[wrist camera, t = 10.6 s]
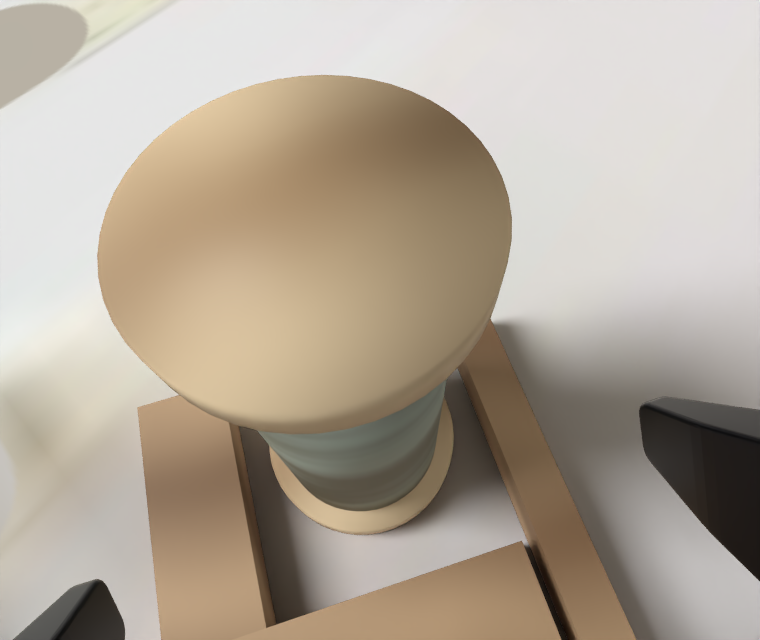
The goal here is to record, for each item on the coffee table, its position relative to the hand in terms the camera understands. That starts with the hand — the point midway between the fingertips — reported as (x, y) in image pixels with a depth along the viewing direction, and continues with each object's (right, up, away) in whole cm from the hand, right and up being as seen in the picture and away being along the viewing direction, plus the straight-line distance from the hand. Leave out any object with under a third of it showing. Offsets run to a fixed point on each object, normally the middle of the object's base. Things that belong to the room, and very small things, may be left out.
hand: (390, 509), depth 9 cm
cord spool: (-1, -1, +11) cm, 11 cm away
